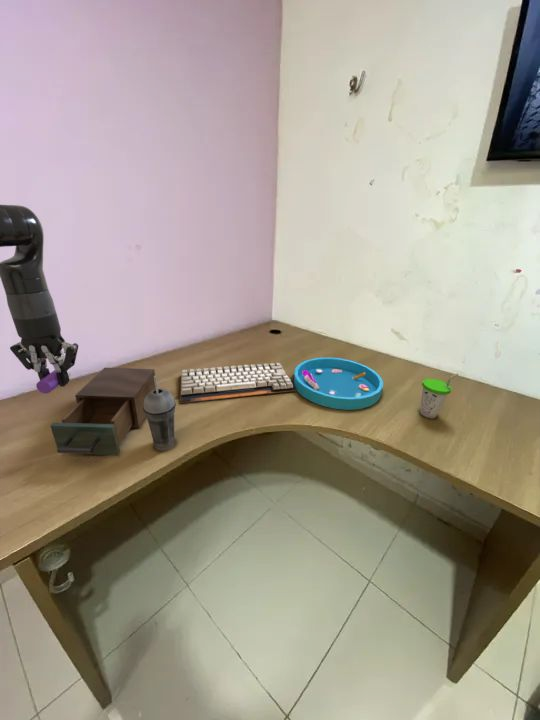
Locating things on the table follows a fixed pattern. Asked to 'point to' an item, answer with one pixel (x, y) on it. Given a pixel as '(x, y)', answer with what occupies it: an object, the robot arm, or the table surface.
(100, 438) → the drawer
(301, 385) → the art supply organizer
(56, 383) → the glue stick
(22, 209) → the robot arm
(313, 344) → the table surface
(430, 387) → the cup
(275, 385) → the mechanical keyboard
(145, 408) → the beverage cup
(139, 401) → the cabinet
